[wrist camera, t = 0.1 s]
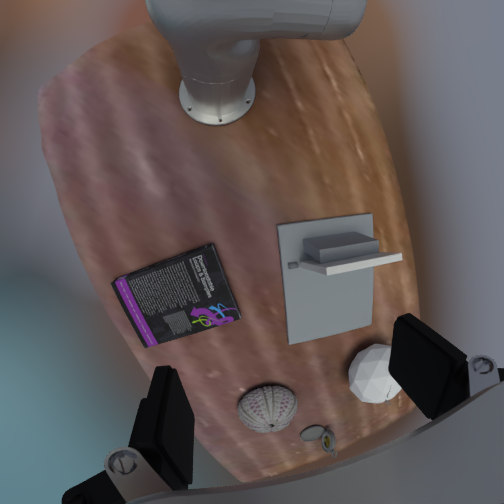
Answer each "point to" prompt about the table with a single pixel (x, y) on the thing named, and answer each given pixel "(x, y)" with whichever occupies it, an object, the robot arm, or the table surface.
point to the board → (326, 276)
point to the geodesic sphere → (373, 375)
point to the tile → (350, 263)
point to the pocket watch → (316, 433)
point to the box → (177, 296)
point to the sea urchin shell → (268, 409)
